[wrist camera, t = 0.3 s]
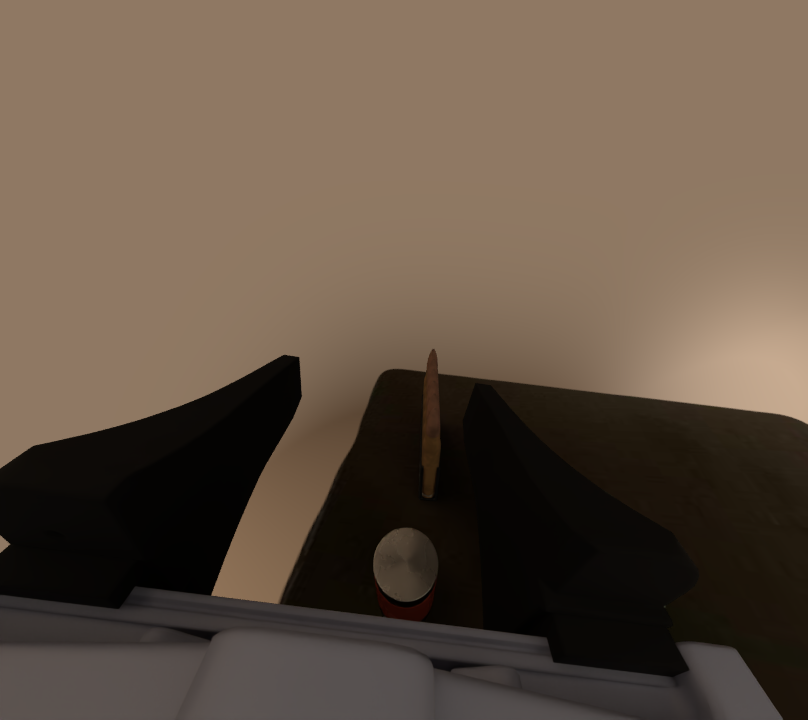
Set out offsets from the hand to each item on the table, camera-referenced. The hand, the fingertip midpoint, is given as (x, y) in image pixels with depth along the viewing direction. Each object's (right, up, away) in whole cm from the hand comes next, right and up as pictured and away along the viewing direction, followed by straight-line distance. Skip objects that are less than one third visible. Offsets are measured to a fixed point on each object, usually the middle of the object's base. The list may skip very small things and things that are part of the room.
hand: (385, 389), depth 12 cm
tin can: (+1, -17, +11) cm, 21 cm away
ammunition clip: (+4, -10, +22) cm, 24 cm away
